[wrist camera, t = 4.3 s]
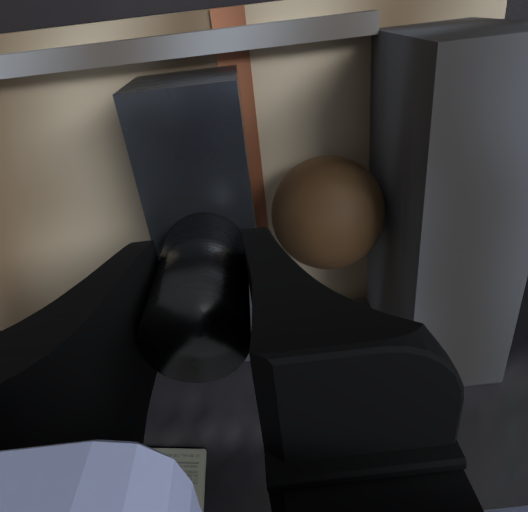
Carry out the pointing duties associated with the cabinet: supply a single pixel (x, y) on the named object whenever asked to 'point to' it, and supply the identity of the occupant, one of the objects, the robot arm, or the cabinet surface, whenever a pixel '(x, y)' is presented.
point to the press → (296, 153)
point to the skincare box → (191, 467)
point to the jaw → (192, 218)
